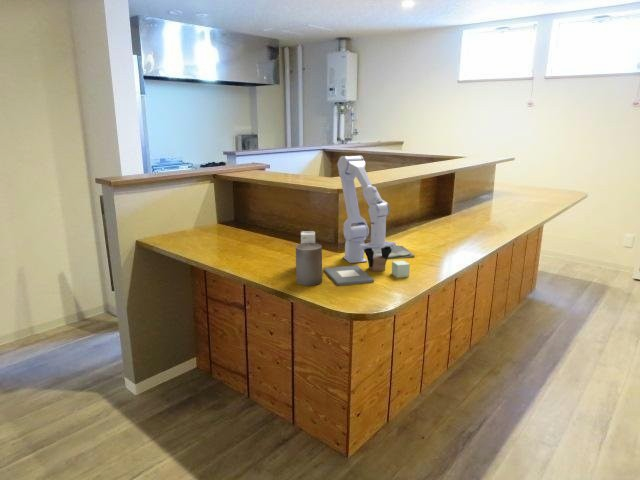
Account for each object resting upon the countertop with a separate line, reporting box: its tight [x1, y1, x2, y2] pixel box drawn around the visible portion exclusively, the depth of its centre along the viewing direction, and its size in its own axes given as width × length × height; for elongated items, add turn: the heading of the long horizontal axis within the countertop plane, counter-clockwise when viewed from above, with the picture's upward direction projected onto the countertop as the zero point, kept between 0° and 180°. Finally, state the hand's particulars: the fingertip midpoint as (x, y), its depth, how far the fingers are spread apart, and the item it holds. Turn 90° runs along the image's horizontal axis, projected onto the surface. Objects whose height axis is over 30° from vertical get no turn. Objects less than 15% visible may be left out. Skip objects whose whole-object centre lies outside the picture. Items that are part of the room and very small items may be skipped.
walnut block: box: [368, 255, 387, 273], centre depth 181 cm, size 5×5×5 cm
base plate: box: [323, 265, 375, 286], centre depth 173 cm, size 18×14×1 cm
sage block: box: [391, 260, 411, 279], centre depth 174 cm, size 5×5×5 cm
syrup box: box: [300, 230, 316, 244], centre depth 182 cm, size 6×6×14 cm
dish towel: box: [372, 244, 416, 260], centre depth 203 cm, size 19×18×3 cm
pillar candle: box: [295, 242, 323, 287], centre depth 165 cm, size 10×10×15 cm
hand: (377, 265), depth 181 cm, fingers closed on walnut block, 5 cm apart
